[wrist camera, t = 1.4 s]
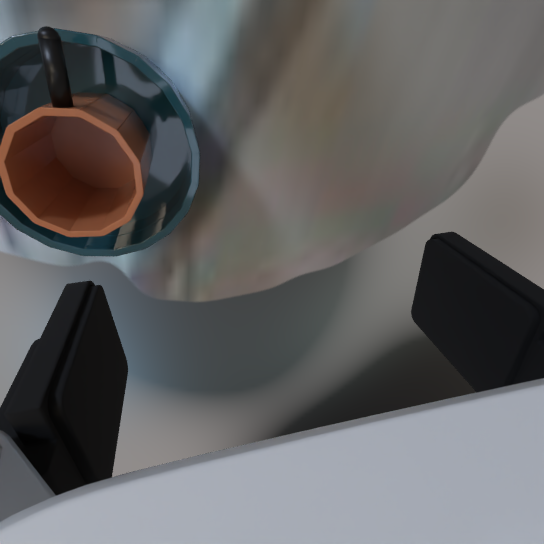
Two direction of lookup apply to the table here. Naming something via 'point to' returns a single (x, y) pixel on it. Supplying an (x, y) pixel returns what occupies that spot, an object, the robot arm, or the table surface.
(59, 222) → the orange mug
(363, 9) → the table surface
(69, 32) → the dark teal bowl
